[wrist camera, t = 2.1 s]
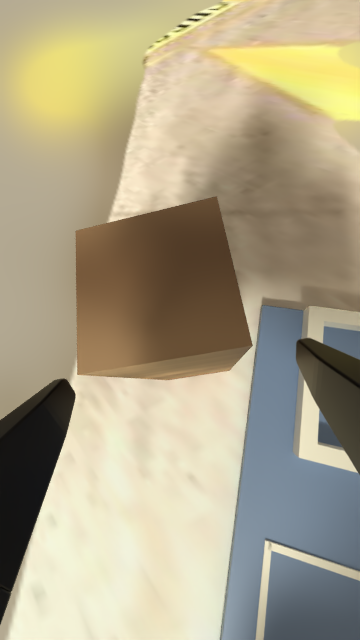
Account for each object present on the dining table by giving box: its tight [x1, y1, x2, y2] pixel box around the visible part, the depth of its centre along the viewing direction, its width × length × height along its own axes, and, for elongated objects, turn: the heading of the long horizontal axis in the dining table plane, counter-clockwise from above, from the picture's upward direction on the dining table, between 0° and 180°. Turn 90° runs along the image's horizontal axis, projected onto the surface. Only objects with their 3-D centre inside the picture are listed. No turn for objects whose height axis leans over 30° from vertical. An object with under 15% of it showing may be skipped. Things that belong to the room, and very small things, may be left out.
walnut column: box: [76, 196, 253, 380], centre depth 13 cm, size 5×5×12 cm
